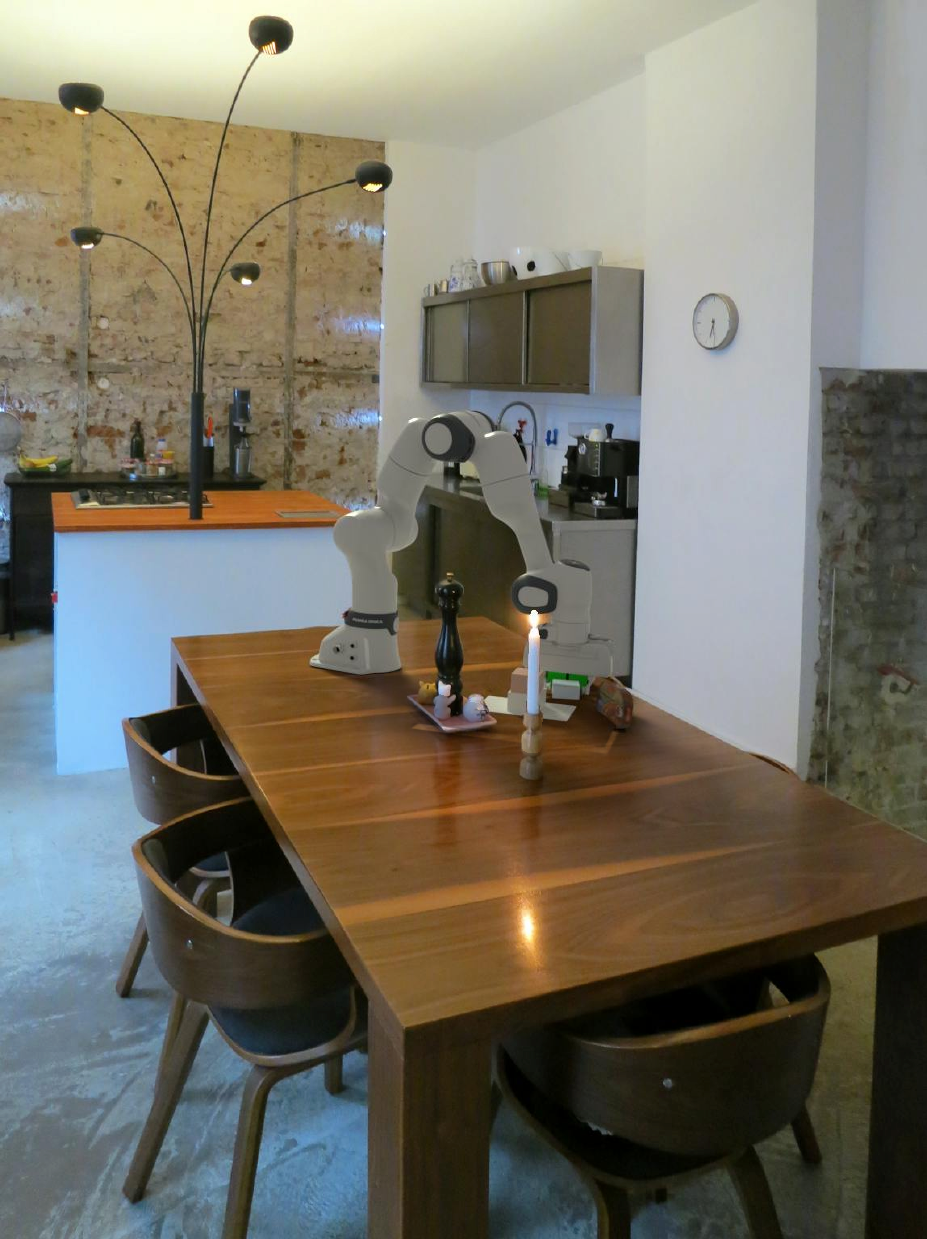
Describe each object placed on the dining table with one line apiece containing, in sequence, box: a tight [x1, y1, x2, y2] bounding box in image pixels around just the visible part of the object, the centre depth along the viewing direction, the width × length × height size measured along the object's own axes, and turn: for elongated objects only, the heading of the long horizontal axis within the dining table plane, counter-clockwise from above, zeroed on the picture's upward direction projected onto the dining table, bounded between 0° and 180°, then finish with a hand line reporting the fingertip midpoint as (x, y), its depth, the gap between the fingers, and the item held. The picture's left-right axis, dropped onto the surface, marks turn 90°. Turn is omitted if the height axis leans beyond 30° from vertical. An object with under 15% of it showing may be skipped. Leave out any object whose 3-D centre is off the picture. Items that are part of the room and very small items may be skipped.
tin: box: [596, 680, 634, 730], centre depth 231 cm, size 15×3×8 cm, turn 13°
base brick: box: [507, 688, 547, 712], centre depth 236 cm, size 7×7×4 cm
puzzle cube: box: [545, 671, 590, 691], centre depth 260 cm, size 10×10×10 cm
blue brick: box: [551, 679, 581, 701], centre depth 248 cm, size 6×6×4 cm
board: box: [483, 695, 577, 722], centre depth 237 cm, size 20×12×1 cm, turn 75°
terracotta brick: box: [509, 667, 544, 694], centre depth 236 cm, size 6×6×4 cm
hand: (565, 691), depth 248 cm, fingers open, 8 cm apart
